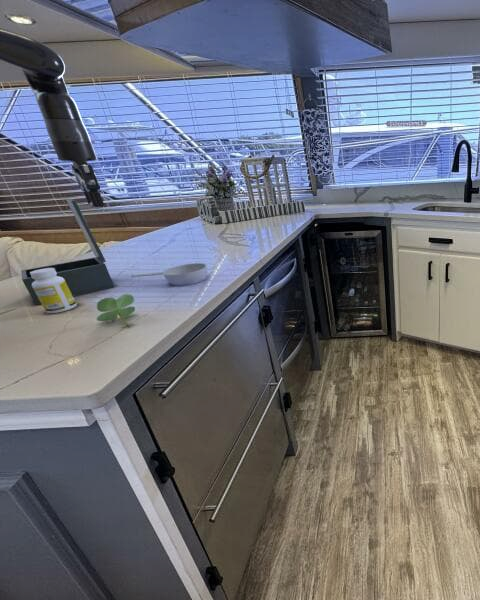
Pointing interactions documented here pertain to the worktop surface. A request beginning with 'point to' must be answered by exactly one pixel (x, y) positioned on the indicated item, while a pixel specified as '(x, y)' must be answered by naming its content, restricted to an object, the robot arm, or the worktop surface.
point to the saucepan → (182, 274)
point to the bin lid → (85, 226)
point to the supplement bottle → (52, 291)
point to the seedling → (115, 308)
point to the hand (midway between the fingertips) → (96, 205)
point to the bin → (75, 277)
